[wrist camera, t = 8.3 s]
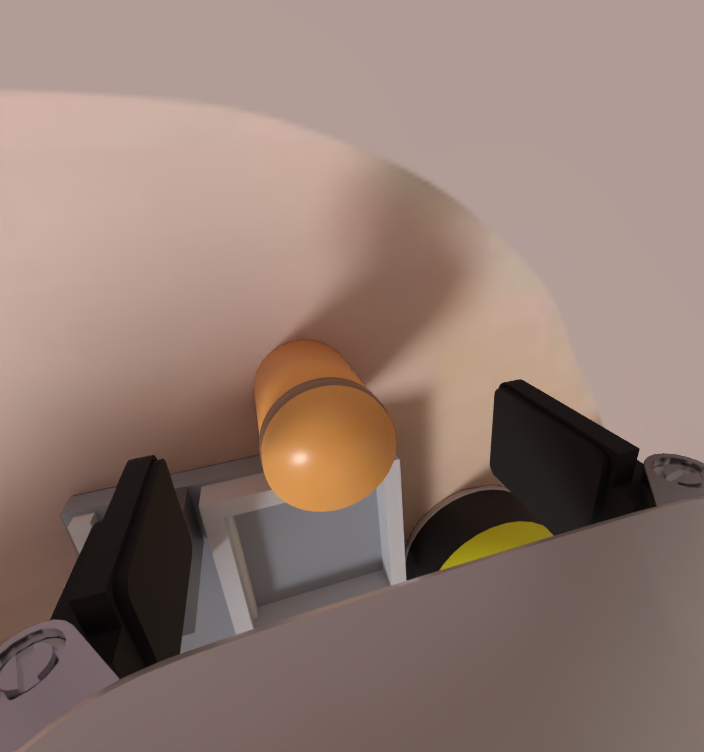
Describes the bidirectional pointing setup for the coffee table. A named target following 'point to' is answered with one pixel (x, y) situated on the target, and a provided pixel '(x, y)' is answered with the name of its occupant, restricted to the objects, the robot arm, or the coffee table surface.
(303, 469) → the cap
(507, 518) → the flashlight
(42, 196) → the coffee table surface
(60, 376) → the coffee table surface
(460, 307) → the coffee table surface
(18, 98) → the coffee table surface
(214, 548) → the board
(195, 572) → the breaker toggle
